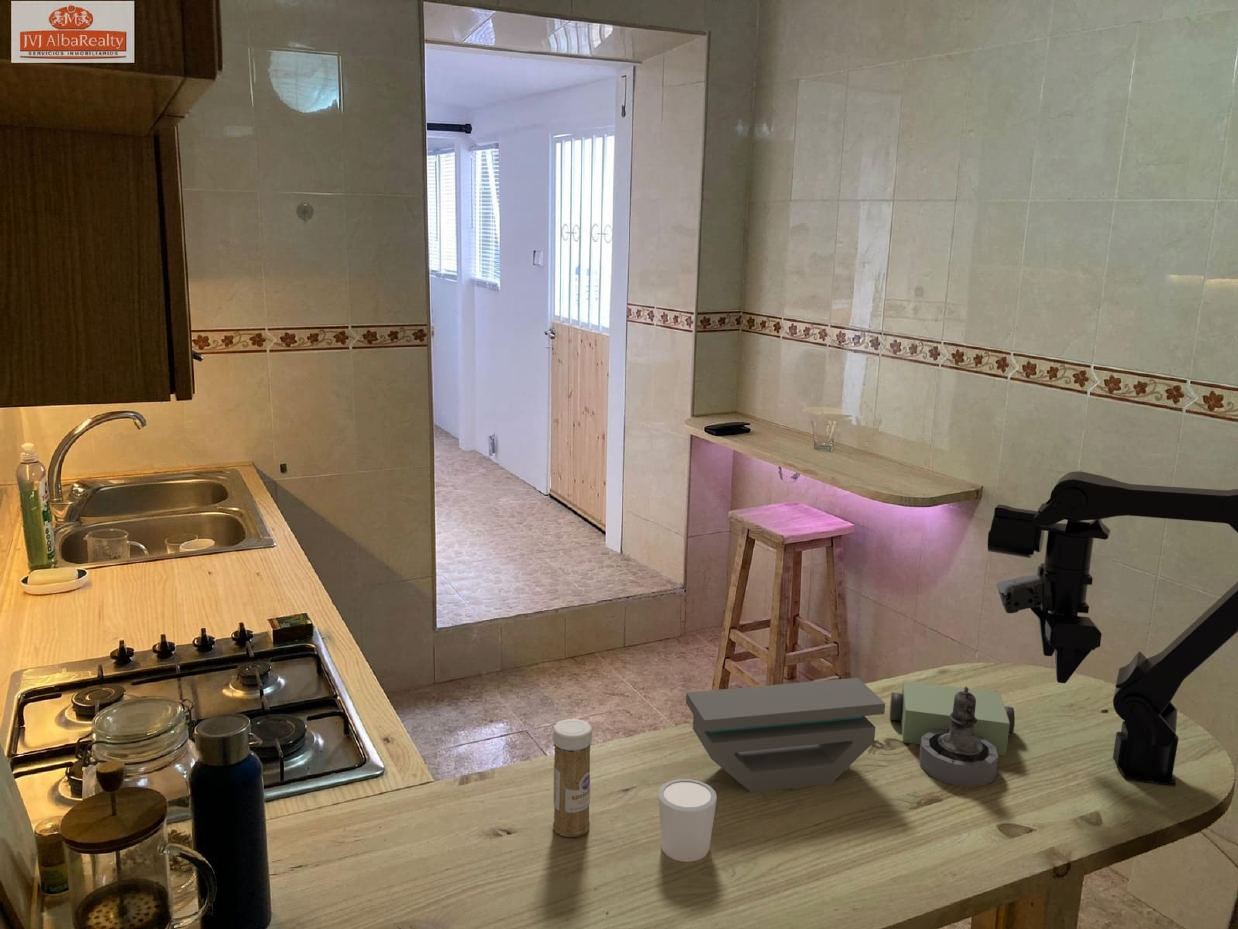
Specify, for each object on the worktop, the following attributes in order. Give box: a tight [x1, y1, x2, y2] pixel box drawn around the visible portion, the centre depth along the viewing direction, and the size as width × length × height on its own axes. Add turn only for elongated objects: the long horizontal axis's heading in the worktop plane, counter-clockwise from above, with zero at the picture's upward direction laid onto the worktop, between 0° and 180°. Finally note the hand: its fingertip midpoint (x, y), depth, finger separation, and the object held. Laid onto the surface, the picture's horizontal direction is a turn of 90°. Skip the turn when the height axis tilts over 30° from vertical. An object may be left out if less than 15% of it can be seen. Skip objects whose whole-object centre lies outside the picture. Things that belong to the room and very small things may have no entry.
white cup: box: [657, 778, 718, 863], centre depth 113 cm, size 7×7×7 cm
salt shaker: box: [938, 686, 983, 762], centre depth 131 cm, size 6×6×12 cm
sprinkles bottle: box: [552, 718, 593, 838], centre depth 115 cm, size 5×5×14 cm
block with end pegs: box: [889, 680, 1016, 788], centre depth 137 cm, size 17×20×5 cm
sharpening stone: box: [685, 677, 886, 793], centre depth 129 cm, size 25×8×11 cm, turn 103°
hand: (1054, 668), depth 136 cm, fingers open, 9 cm apart
